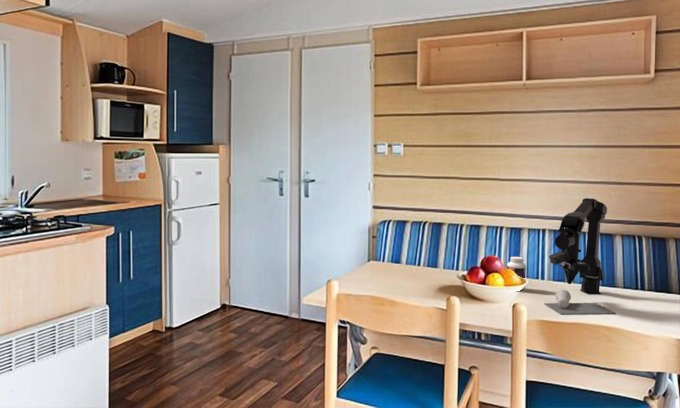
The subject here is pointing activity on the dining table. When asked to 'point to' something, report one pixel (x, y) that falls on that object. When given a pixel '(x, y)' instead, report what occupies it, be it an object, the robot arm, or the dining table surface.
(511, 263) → the pill bottle
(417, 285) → the dining table surface
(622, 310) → the dining table surface
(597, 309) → the mat
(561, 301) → the salt shaker
